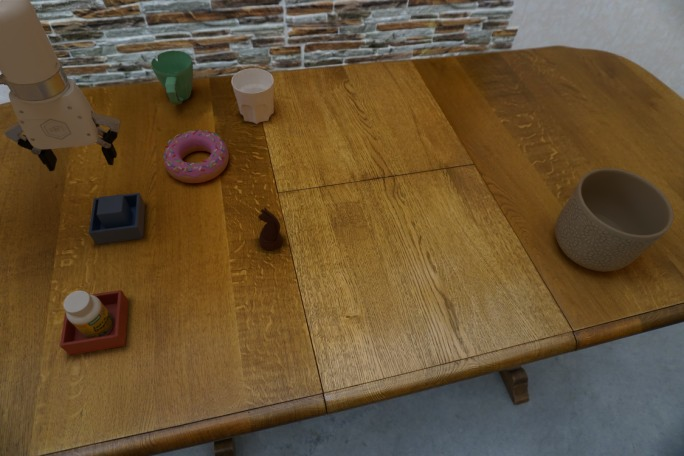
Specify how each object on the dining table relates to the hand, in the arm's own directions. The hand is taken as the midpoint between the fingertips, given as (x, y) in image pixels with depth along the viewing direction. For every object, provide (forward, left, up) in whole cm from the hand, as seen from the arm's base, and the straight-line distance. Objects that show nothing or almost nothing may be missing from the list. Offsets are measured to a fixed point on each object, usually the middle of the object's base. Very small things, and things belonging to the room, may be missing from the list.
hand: (83, 162), depth 82 cm
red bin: (-1, -24, -18) cm, 29 cm away
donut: (+17, +14, -18) cm, 28 cm away
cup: (+32, +30, -18) cm, 48 cm away
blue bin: (+1, -1, -18) cm, 18 cm away
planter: (+96, -24, -18) cm, 100 cm away
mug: (+13, +38, -18) cm, 44 cm away
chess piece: (+31, -11, -18) cm, 37 cm away
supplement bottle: (-1, -24, -17) cm, 29 cm away
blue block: (+1, -1, -17) cm, 17 cm away
